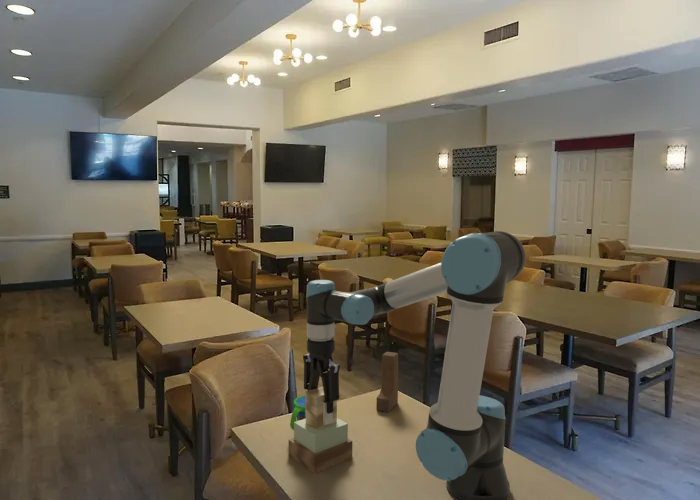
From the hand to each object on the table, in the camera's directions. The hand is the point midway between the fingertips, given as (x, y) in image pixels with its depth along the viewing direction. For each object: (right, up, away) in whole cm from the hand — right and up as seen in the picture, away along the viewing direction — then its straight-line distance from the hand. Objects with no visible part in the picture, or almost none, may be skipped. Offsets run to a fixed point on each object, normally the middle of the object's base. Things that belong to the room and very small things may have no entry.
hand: (321, 419), depth 144 cm
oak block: (0, -1, 0) cm, 1 cm away
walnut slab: (0, -11, +1) cm, 11 cm away
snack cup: (-4, -9, +15) cm, 18 cm away
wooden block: (+21, -7, +34) cm, 41 cm away
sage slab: (0, -6, +1) cm, 6 cm away
